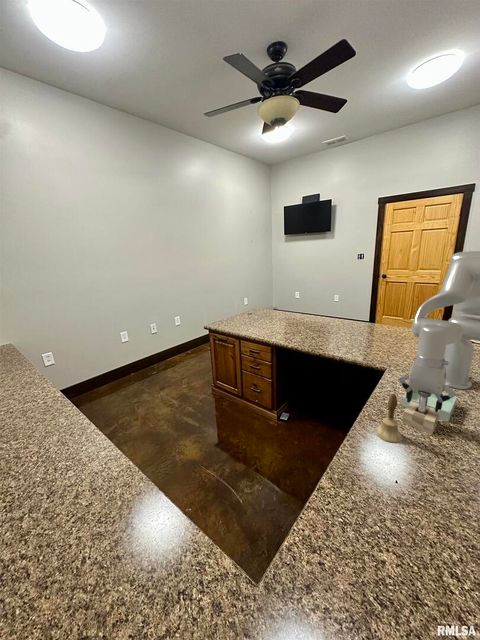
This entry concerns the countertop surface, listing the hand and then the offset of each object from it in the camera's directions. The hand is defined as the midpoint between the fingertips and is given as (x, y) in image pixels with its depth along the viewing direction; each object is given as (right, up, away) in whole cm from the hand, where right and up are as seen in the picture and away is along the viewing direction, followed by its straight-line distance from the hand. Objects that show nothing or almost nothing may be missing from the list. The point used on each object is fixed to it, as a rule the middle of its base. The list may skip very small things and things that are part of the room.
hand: (422, 405), depth 92 cm
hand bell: (-14, -10, -3) cm, 17 cm away
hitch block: (0, -7, +2) cm, 7 cm away
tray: (+10, -4, +11) cm, 16 cm away
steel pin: (0, -7, +2) cm, 7 cm away
